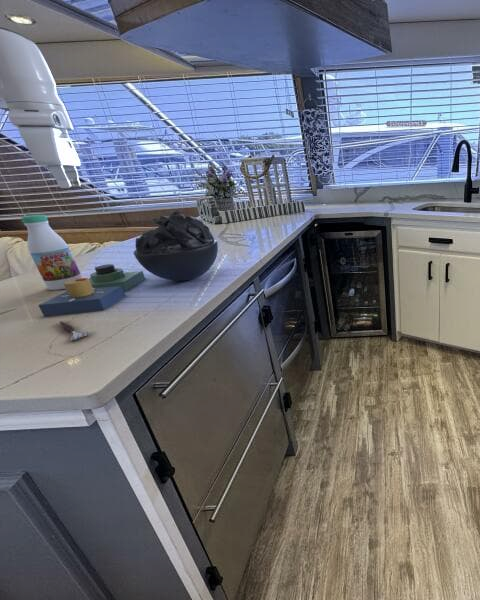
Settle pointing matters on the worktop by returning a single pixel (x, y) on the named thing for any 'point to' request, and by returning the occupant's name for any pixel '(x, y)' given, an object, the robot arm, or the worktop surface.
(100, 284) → the green stepped base
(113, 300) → the dial panel
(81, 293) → the dial
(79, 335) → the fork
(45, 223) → the milk bottle
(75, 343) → the worktop surface
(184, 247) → the coal bowl
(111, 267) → the black round button
